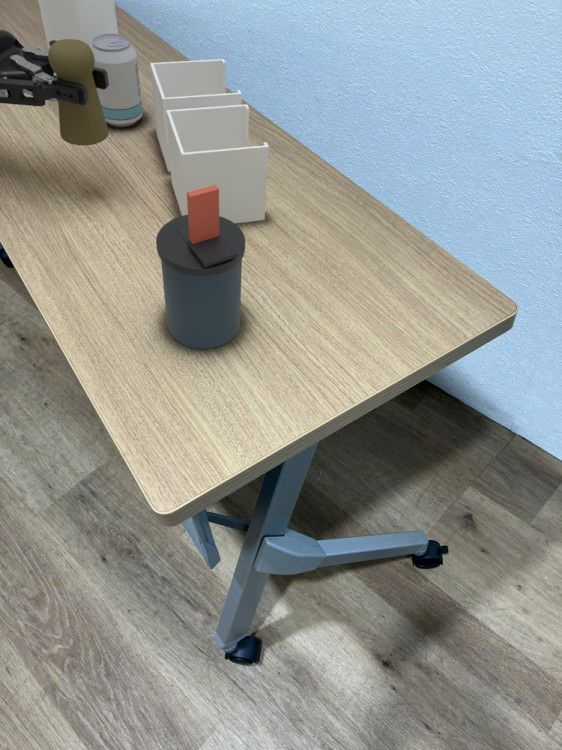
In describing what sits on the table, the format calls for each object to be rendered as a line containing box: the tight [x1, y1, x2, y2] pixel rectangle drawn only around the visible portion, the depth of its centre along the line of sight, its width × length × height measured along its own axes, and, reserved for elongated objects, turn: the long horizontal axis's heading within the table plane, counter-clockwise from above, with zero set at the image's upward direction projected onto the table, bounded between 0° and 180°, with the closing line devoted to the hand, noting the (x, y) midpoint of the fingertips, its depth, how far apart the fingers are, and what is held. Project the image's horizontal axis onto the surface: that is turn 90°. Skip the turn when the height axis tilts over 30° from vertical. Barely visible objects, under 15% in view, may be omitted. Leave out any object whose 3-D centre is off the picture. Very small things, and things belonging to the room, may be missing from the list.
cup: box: [37, 0, 119, 76], centre depth 98 cm, size 11×11×18 cm
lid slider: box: [187, 185, 237, 267], centre depth 59 cm, size 4×4×6 cm
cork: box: [48, 39, 110, 146], centre depth 75 cm, size 6×6×11 cm
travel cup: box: [155, 215, 246, 350], centre depth 67 cm, size 9×9×12 cm
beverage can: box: [91, 33, 144, 128], centre depth 95 cm, size 7×7×12 cm
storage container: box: [149, 58, 270, 224], centre depth 87 cm, size 25×11×11 cm, turn 16°
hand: (96, 87), depth 74 cm, fingers closed on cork, 4 cm apart
